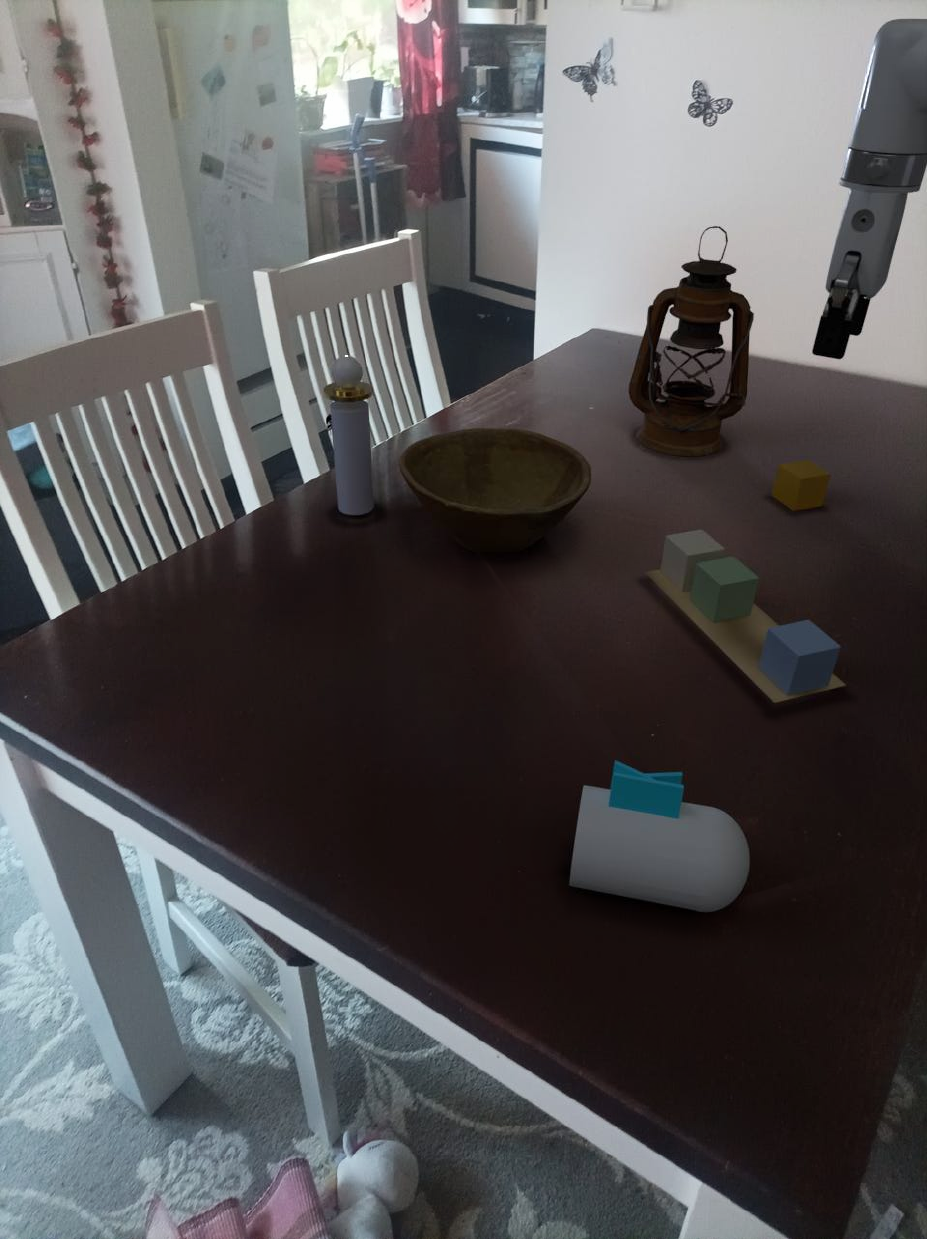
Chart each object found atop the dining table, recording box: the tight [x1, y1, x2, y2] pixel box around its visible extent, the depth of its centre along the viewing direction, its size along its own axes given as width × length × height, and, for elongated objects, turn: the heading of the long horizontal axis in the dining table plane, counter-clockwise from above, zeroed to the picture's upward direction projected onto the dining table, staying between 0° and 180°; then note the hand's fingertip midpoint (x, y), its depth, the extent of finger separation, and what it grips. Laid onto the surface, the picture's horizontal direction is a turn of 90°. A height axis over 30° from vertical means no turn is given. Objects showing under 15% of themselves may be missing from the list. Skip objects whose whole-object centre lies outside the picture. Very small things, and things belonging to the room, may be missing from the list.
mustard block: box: [771, 459, 832, 512], centre depth 114 cm, size 5×5×5 cm
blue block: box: [758, 619, 842, 696], centre depth 81 cm, size 5×5×5 cm
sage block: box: [690, 556, 760, 623], centre depth 91 cm, size 5×5×5 cm
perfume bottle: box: [323, 355, 375, 516], centre depth 105 cm, size 6×6×20 cm
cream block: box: [660, 529, 726, 592], centre depth 95 cm, size 5×5×5 cm
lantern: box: [628, 225, 755, 458], centre depth 123 cm, size 17×13×30 cm
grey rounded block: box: [568, 759, 751, 913], centre depth 64 cm, size 12×9×12 cm
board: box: [644, 568, 847, 704], centre depth 90 cm, size 8×24×1 cm, turn 19°
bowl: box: [398, 427, 592, 555], centre depth 103 cm, size 22×23×10 cm
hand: (836, 344), depth 95 cm, fingers open, 9 cm apart
